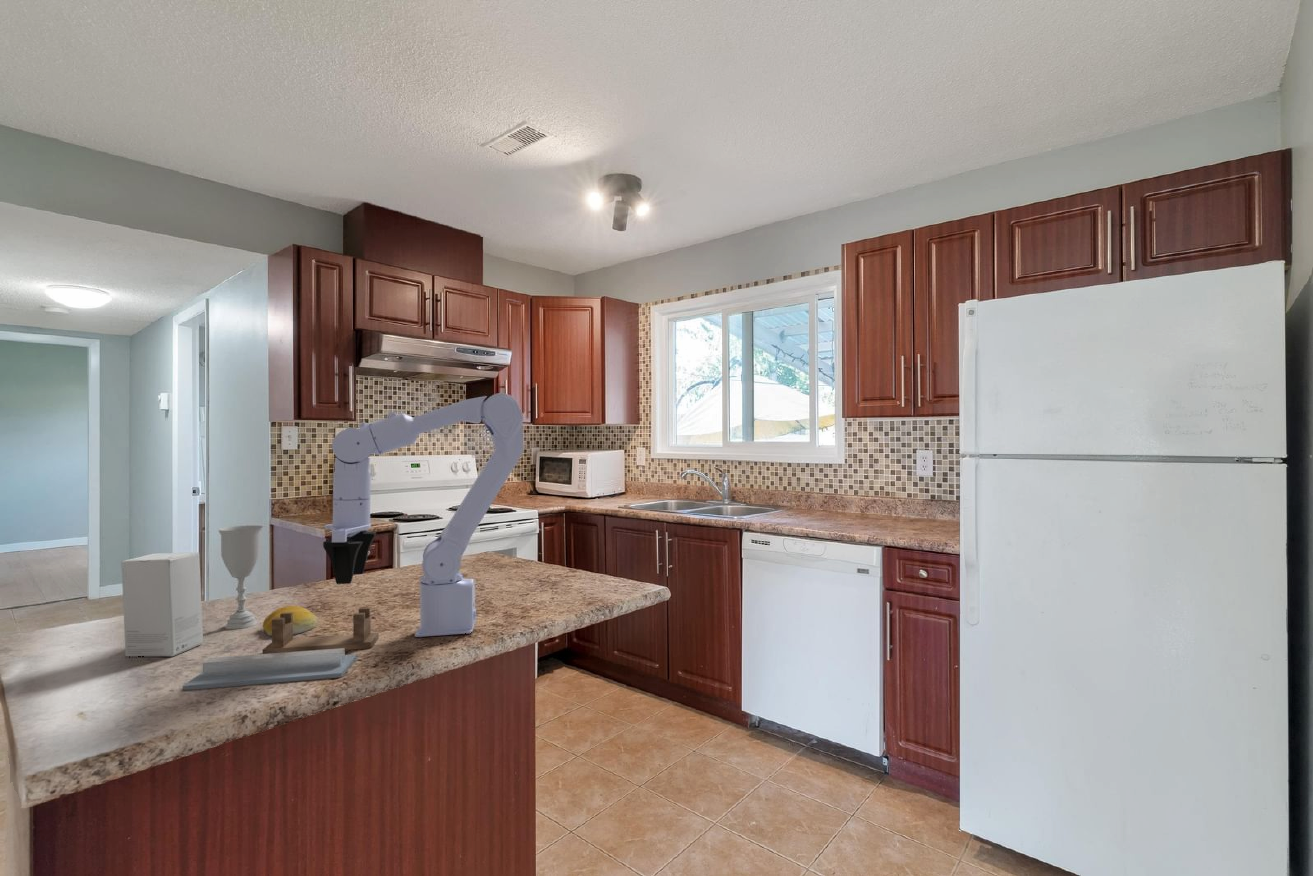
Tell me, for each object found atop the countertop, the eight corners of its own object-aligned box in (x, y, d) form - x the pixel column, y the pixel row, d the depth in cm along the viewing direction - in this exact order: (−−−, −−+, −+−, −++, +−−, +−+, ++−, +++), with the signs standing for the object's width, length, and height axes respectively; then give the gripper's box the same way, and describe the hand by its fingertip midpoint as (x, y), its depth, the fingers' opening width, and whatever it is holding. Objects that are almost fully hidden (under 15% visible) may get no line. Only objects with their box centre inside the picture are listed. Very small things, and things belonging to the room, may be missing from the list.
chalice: (209, 628, 111) (208, 529, 111) (246, 618, 118) (245, 524, 118) (235, 632, 109) (235, 531, 109) (272, 621, 115) (271, 526, 115)
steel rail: (344, 661, 92) (344, 648, 92) (340, 666, 90) (340, 652, 90) (209, 671, 88) (209, 658, 88) (202, 677, 86) (202, 662, 86)
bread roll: (268, 641, 104) (268, 617, 104) (260, 629, 111) (260, 607, 111) (322, 630, 110) (322, 608, 110) (311, 620, 117) (311, 599, 117)
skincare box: (204, 644, 102) (203, 551, 102) (170, 658, 96) (169, 559, 96) (156, 644, 103) (156, 551, 103) (120, 658, 96) (119, 559, 96)
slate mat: (357, 658, 95) (357, 654, 95) (341, 677, 87) (341, 673, 87) (212, 669, 91) (212, 665, 91) (182, 690, 83) (182, 686, 83)
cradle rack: (378, 638, 104) (378, 606, 105) (371, 648, 100) (371, 614, 100) (275, 645, 101) (275, 612, 101) (262, 656, 96) (262, 621, 96)
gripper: (339, 495, 110) (337, 570, 110) (311, 503, 96) (309, 589, 96) (381, 495, 112) (379, 569, 112) (359, 502, 98) (358, 587, 98)
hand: (350, 578), depth 104 cm, fingers open, 7 cm apart
